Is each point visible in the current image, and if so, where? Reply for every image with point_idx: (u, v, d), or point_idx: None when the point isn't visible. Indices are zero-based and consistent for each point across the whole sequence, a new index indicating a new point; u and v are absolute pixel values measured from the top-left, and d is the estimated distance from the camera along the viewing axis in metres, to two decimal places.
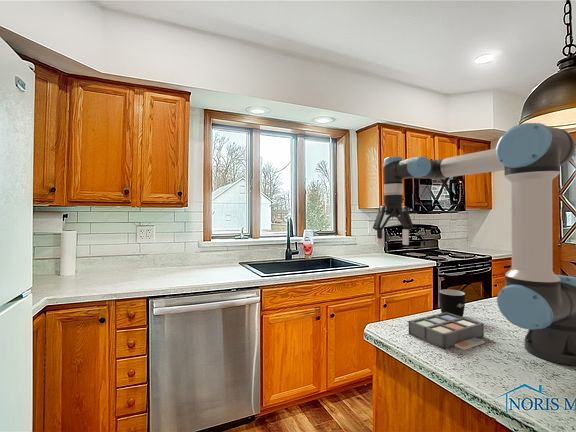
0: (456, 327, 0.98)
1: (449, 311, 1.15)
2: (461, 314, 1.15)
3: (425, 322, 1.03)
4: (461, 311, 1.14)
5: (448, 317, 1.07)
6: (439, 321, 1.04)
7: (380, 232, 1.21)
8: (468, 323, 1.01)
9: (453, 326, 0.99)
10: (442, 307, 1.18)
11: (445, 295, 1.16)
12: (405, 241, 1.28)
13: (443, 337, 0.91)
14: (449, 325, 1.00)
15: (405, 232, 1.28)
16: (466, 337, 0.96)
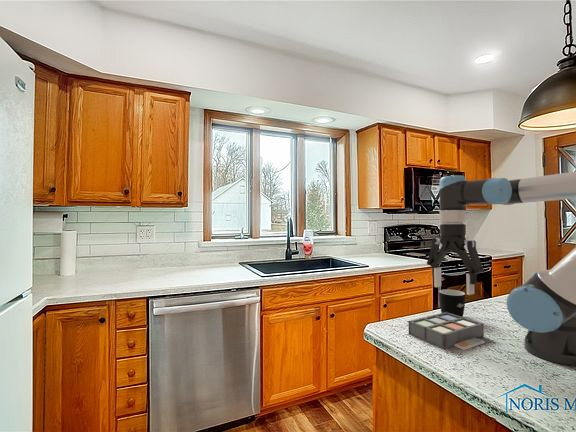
0: (456, 327, 0.98)
1: (449, 311, 1.15)
2: (461, 314, 1.15)
3: (425, 322, 1.03)
4: (461, 311, 1.14)
5: (448, 317, 1.07)
6: (439, 321, 1.04)
7: (433, 269, 1.05)
8: (468, 323, 1.01)
9: (453, 326, 0.99)
10: (442, 307, 1.18)
11: (445, 295, 1.16)
12: None
13: (443, 337, 0.91)
14: (449, 325, 1.00)
15: None
16: (466, 337, 0.96)
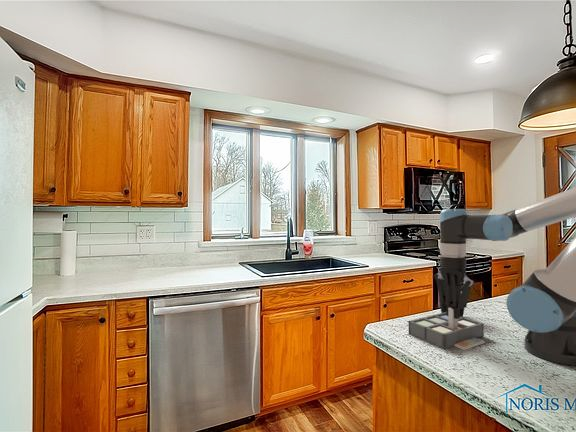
0: None
1: None
2: (461, 314, 1.15)
3: (425, 322, 1.03)
4: (461, 311, 1.14)
5: None
6: (439, 321, 1.04)
7: (447, 308, 1.00)
8: (468, 323, 1.01)
9: None
10: (442, 307, 1.18)
11: None
12: None
13: (443, 337, 0.91)
14: None
15: None
16: (466, 337, 0.96)
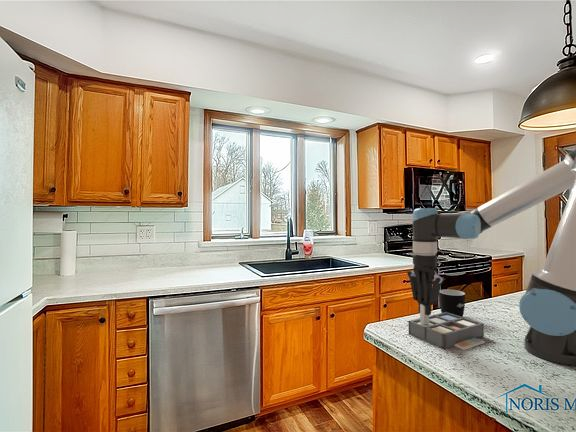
0: None
1: (449, 311, 1.15)
2: (461, 314, 1.15)
3: None
4: (461, 311, 1.14)
5: (448, 317, 1.07)
6: (439, 321, 1.04)
7: (419, 305, 1.03)
8: (468, 323, 1.01)
9: None
10: (442, 307, 1.18)
11: (445, 295, 1.16)
12: None
13: (443, 337, 0.91)
14: None
15: None
16: (466, 337, 0.96)
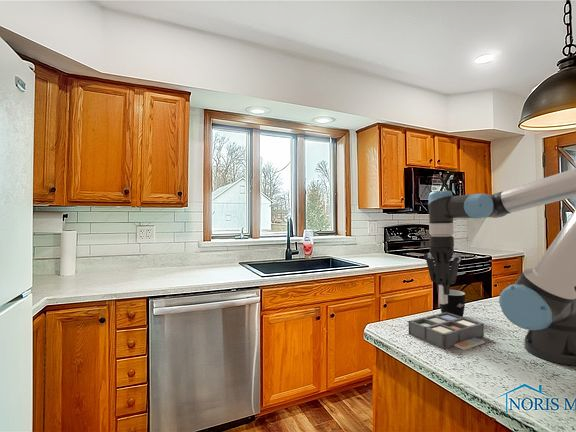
0: None
1: (449, 311, 1.15)
2: (461, 314, 1.15)
3: (425, 324, 1.03)
4: (461, 311, 1.14)
5: (448, 317, 1.07)
6: (439, 321, 1.04)
7: (437, 286, 1.06)
8: (468, 323, 1.01)
9: None
10: (442, 307, 1.18)
11: None
12: None
13: (443, 337, 0.91)
14: None
15: None
16: (466, 337, 0.96)
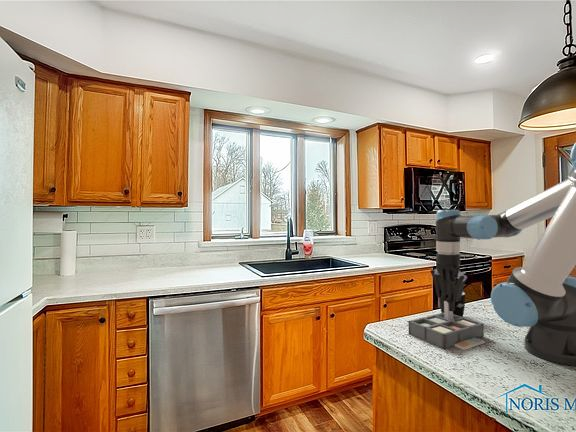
0: None
1: None
2: (461, 314, 1.15)
3: (425, 324, 1.03)
4: (461, 311, 1.14)
5: None
6: (439, 321, 1.04)
7: (443, 302, 1.08)
8: (468, 323, 1.01)
9: None
10: None
11: None
12: None
13: (443, 337, 0.91)
14: None
15: None
16: (466, 337, 0.96)
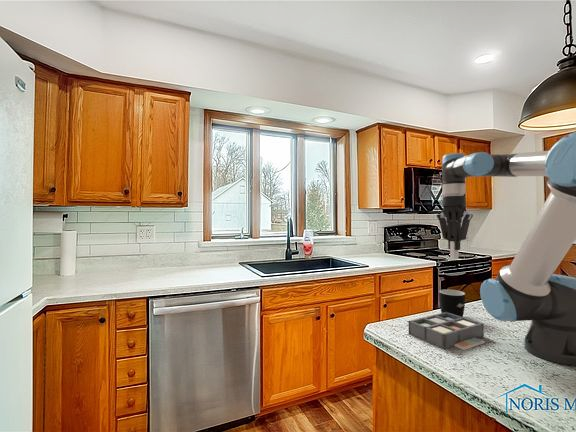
0: None
1: (449, 311, 1.15)
2: (461, 314, 1.15)
3: (425, 324, 1.03)
4: (461, 311, 1.14)
5: None
6: (439, 321, 1.04)
7: (449, 242, 1.14)
8: (468, 323, 1.01)
9: None
10: (442, 307, 1.18)
11: (445, 295, 1.16)
12: None
13: (443, 337, 0.91)
14: None
15: None
16: (466, 337, 0.96)
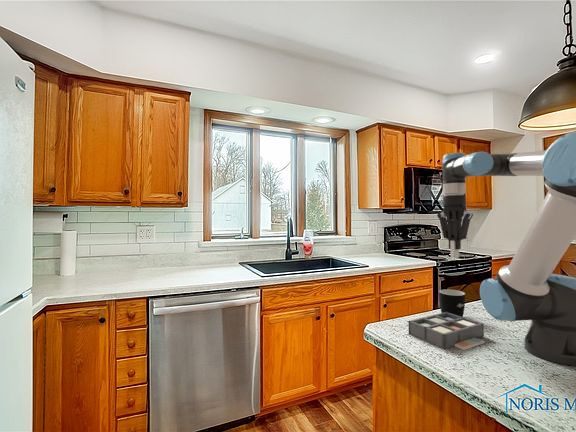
0: None
1: (449, 311, 1.15)
2: (461, 314, 1.15)
3: (425, 324, 1.03)
4: (461, 311, 1.14)
5: None
6: (439, 321, 1.04)
7: (449, 242, 1.14)
8: (468, 323, 1.01)
9: None
10: (442, 307, 1.18)
11: (445, 295, 1.16)
12: None
13: (443, 337, 0.91)
14: None
15: None
16: (466, 337, 0.96)
